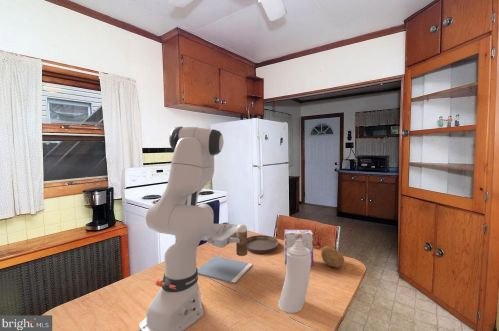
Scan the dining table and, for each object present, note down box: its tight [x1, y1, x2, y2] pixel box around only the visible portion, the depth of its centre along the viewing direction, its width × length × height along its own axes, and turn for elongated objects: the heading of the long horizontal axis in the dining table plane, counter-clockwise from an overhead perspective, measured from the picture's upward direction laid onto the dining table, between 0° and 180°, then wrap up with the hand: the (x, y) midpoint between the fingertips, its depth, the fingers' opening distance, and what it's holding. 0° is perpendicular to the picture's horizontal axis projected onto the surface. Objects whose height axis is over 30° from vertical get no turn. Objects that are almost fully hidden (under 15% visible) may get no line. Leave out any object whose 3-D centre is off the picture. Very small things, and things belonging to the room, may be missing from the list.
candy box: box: [284, 229, 314, 266], centre depth 124 cm, size 14×6×16 cm, turn 84°
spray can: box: [277, 240, 312, 314], centre depth 92 cm, size 12×11×25 cm
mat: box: [197, 255, 254, 285], centre depth 119 cm, size 18×22×1 cm
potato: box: [320, 245, 345, 269], centre depth 121 cm, size 10×14×8 cm
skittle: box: [235, 223, 248, 257], centre depth 114 cm, size 5×5×14 cm
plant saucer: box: [247, 234, 279, 254], centre depth 145 cm, size 21×21×3 cm
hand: (243, 238), depth 113 cm, fingers closed on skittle, 5 cm apart
